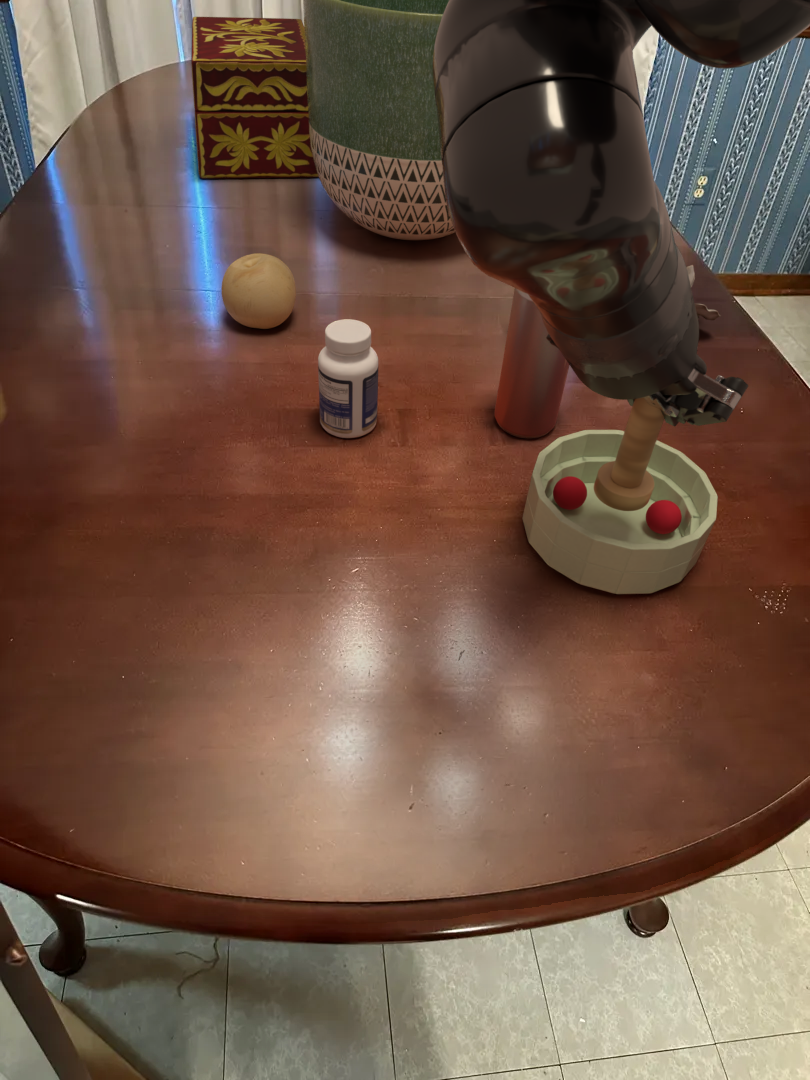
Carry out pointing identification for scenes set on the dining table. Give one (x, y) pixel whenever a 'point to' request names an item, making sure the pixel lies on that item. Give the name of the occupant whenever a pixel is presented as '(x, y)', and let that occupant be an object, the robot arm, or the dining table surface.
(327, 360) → the pill bottle
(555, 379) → the beverage can
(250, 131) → the decorative box
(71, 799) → the dining table surface
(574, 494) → the red ball
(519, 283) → the robot arm
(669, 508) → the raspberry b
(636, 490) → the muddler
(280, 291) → the pale yellow round fruit
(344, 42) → the planter
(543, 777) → the dining table surface
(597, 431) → the bowl
